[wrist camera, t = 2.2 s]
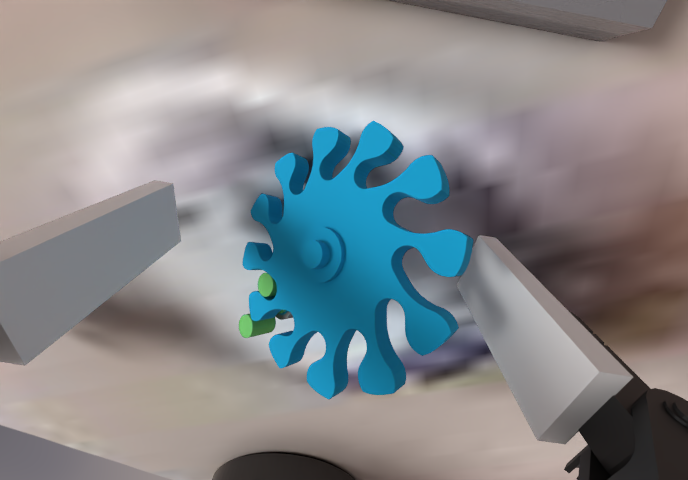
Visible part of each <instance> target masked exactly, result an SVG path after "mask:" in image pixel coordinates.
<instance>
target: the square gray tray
mask: <svg viewBox="0 0 688 480" xmlns="http://www.w3.org/2000/svg"><path fill="white" fill-rule="evenodd" d="M390 1H395V2H400V3H405V4H411V5H416V6H421V7H426V8H431V9H436V10H441V11H447V12H452V13H457V14H462V15H467V16H472V17H477V18H483V19H488V20H493V21H498V22H503V23H508V24H514V25H519V26H524V27H529V28H534V29H539V30H544V31H550V32H555V33H560V34H565V35H570V36H575V37H581V38H586V39H591V40H596V41H603V40H607V39H611V38H615V37H619V36H623V35H627V34H631V33H635V32H639V31H643V30H647V29H651V28H652V27H653V25H654V23H655V22H656V20H657V18H658V16H659V14H660V13H661V11H662V9H663V7H664V5H665V3H666V2H667V0H390Z"/></svg>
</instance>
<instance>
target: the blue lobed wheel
mask: <svg viewBox="0 0 688 480" xmlns="http://www.w3.org/2000/svg"><path fill="white" fill-rule="evenodd" d="M350 145H351V139H350V137H348V136H347V135H345V134H344V133H342V132H341V131H339V130H338V129H336V128H332V127H324V128H319V129H317V130H316V132H315V134H314V136H313V141H312V146H313V155H314V158H313V166H312V171H311V174H310V177H309V180H308V182H307V184H306V187H305V189H304V190H303V185H304V182H305V180H306V177H307V175H308V171H309V165H308V161H307V160H306V159H305V158H303V157H301V156H299V155H297V154H294V153H289V154H287V155H285V156H284V157H282V158H281V159H280V160H279V161H277V162H276V164H275V174H276V177H277V178H278V179H279V181H280V183H281V185H282V189H283V194H284V214H283V217H282V202H281V200H280V199H279V198H277V197H274V196H270V195H266V194H263V193H262V194H261V195H260V196H259V197H258V198H257V200H256V202H255V203H254V205H253V207H252V209H251V215H252V217H253V219H254V220H255V221H258V222H260V223H261V224H263V225H264V226H265V228H266V229H267V231H268V233H269V235H270V237H271V240H272V243H273V248H274V249H273V253H272V250H271V247H270V246H269V245H268V244H266V243H255V242H248V243H247V245H246V248H245V252H244V257H243V266H244V268H245V269H247V270H264V271H266V272H267V273H263V274H262V275H261V276H260V278H259V281H258V289H259V291H254V292H252V293H251V294H250V295H249V308H250V314H246V315H243V316H242V317H241V318H240V321H239V330H240V333H241V335H242V336H243V337H244V338H248V337H253V336H257V335H261V334H265V333H269V332H272V331H273V330H274V328H275V324H276V321H275V316H276V317H277V318H278V319H288V318H294V322H295V327H294V331H289V332H285V333H281V334H277V335H274V336H273V337H272V338H271V339H270V342H269V348H270V351H271V353H272V356H273V358H274V360H275V361H276V363H277V365H278V366H279V368H284V367H287V366H289V365H292V364H294V363H297V362H299V361H300V360H301V359H302V357H303V355H304V351H305V348H306V345H307V343H308V342H309V340H310V338H311V337H312V336H313V335H314V334H315V333H317V332H319V333H321V334H322V336H323V337H324V339H325V342H326V353H325V355H324V356H323V358H321V359H320V360H318V361H316V362H314V363H312V364H311V365H310V367H309V369H308V372H307V382H308V383H309V385H310V386H311V387H312V388H313V389H314V390H315V391H316V392H318V393H319V394H320V395H322V396H324V397H325V398H327V399H331V398H332V397H334V396H335V395H337V394H339V393H340V392H342V391H343V390H344V389H345V388H346V386H347V384H348V371H347V352H348V348H349V344H350V342H351V339H352V337H353V335H354V333H355V331H356V330H358V331H359V332H361V333H362V335H363V336H364V338H365V340H366V343H367V352H366V355H365V357H364V359H363V360H362V362H361V364H360V366H359V370H358V380H359V384H360V387H361V389H362V390H363V392H366V393H369V394H373V395H385V394H392V393H395V392H396V391H397V390H398V389H399V388H400V387H402V386H403V385H404V384H405V381H406V372H405V368H404V366H403V363H402V362H401V360H400V359H399V358H398V356H397V355H396V353H395V351H394V349H393V347H392V345H391V342H390V339H389V335H388V331H387V305H388V302H389V301H390V300H391V299H394V300H396V301H397V302H399V303H400V305H401V306H402V308H403V310H404V312H405V332H406V337H407V340H408V342H409V344H410V346H411V347H412V348H413V349H414V350H415V351H416V352H417V353H418V354H420V355H422V356H423V355H426V354H429V353H431V352H432V351H434V350H435V349H437V348H438V347H439V346H441V345H442V344H443V343H445V342H446V341H447V340H448V339H449V338H450V337H451V336H452V335H453V334H454V333H455V332H456V331H457V329H458V328H459V327H458V324H457V321H456V320H455V318H454V316H453V315H452V314H451V313H450V312H448V311H447V310H445V309H444V308H441V307H439V306H436V305H434V304H432V303H431V302H429V301H427V300H426V299H425V298H424V297H422V296H421V295H420V294H419V293H418V292H417V291H416V289H415V288H414V287H413V285H412V284H411V282H410V281H409V279H408V277H407V275H406V273H405V272H404V269H403V267H402V259H403V256H404V254H405V252H406V251H407V250H409V249H410V248H413V247H415V248H416V249H418V250H419V252H420V253H421V254H422V256H423V258H424V260H425V261H426V263H427V265H428V266H429V267H430V269H431V270H432V271H434V272H435V273H437V274H438V275H441V276H445V277H453V276H462V275H463V274H464V272H465V271H466V269H467V267H468V264H469V262H470V258H471V254H472V247H473V239H472V238H471V237H470V236H468V235H466V234H464V233H461V232H459V231H457V230H451V229H447V230H441V231H438V232H434V233H426V234H420V233H413V232H411V231H409V230H407V229H405V228H403V227H401V226H399V225H398V224H397V223H396V222H395V220H394V216H393V211H394V208H395V206H396V204H397V203H398V202H399V201H400V200H401V199H403V198H407V197H411V198H415V199H417V200H419V201H421V202H424V203H427V204H437V203H440V202H442V201H444V200H445V199H446V198H447V197H449V183H448V179H447V176H446V174H445V171H444V169H443V167H442V165H441V163H440V162H439V161H438V160H437V159H436V158H435V157H434V156H433V155H426V156H422V157H420V158H418V159H416V160H415V161H413V162H412V163H411V164H410V166H409V167H408V168H407V169H406V170H405V171H404V172H403V173H402V174H401V175H400V176H399V177H397V178H396V179H394V180H393V181H391V182H389V183H387V184H384V185H382V186H378V187H373V188H368V189H367V186H366V179H367V176H368V174H369V172H370V171H371V170H372V169H374V168H375V167H378V166H383V165H387V164H390V163H392V162H394V161H395V160H396V159H397V158H398V157H399V156H400V154H401V152H402V150H403V145H402V143H401V142H400V141H399V140H398V139H397V138H396V137H395V136H394V135H393V134H392V133H391V132H390V131H389V130H388V129H386V128H385V127H384V126H382V125H381V124H379V123H377V122H375V121H372V122H371V123H369V124H368V125H367V126H366V127H365V129H364V130H363V132H362V134H361V137H360V141H359V144H358V147H357V150H356V152H355V154H354V156H353V157H352V159H351V161H350V162H349V163H348V165H347V166H346V167H345V168H344V169H343V170H342V171H341V172H340V173H339V174H338V175H337V176H336V177H335V178H333V170H334V168H335V166H336V165H337V164H338V163H339V162H340V161H341V160H342V159H343V158H344V157H345V156H346V155H347V153H348V151H349V149H350Z"/></svg>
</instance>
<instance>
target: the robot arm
mask: <svg viewBox="0 0 688 480" xmlns="http://www.w3.org/2000/svg"><path fill="white" fill-rule="evenodd" d="M180 241H181V237H180V230H179V223H178V215H177V208H176V201H175V193H174V186H173V183H167V182H161V181H155V180H154V181H152V182H149V183H147V184H144V185H142V186H139V187H137V188H134V189H132V190H129V191H127V192H124V193H122V194H119V195H117V196H114V197H112V198H109V199H107V200H104V201H102V202H99V203H96V204H94V205H91V206H89V207H86V208H84V209H81V210H79V211H76V212H74V213H71V214H69V215H66V216H64V217H61V218H59V219H56V220H54V221H51V222H49V223H46V224H44V225H41V226H39V227H36V228H34V229H31V230H29V231H26V232H24V233H21V234H19V235H16V236H14V237H11V238H8V239H6V240H3V241H1V242H0V362H5V363H12V364H19V365H26V364H27V363H29V362H30V361H31V360H32V359H34V358H35V357H36V356H37V355H39V354H40V353H41V352H43V351H44V350H45V349H46V348H48V347H49V346H50V345H51V344H53V343H54V342H55V341H56V340H58V339H59V338H60V337H61V336H63V335H64V334H65V333H66V332H68V331H69V330H70V329H71V328H73V327H74V326H75V325H76V324H78V323H79V322H80V321H81V320H83V319H84V318H85V317H86V316H88V315H89V314H90V313H91V312H93V311H94V310H95V309H96V308H98V307H99V306H100V305H101V304H103V303H104V302H105V301H106V300H108V299H109V298H110V297H111V296H113V295H114V294H115V293H116V292H118V291H119V290H120V289H122V288H123V287H124V286H125V285H127V284H128V283H129V282H130V281H132V280H133V279H134V278H135V277H137V276H138V275H139V274H140V273H142V272H143V271H144V270H145V269H147V268H148V267H149V266H150V265H152V264H153V263H154V262H155V261H157V260H158V259H159V258H160V257H162V256H163V255H164V254H165V253H167V252H168V251H169V250H170V249H172V248H173V247H174V246H175V245H177V244H178V243H179V242H180ZM457 288H458V290H459V291H460V293H461V295H462V297H463V299H464V301H465V303H466V305H467V307H468V309H469V311H470V313H471V314H472V316H473V318H474V320H475V322H476V324H477V326H478V328H479V330H480V332H481V334H482V336H483V337H484V339H485V341H486V343H487V345H488V347H489V349H490V351H491V353H492V355H493V357H494V359H495V360H496V362H497V364H498V366H499V368H500V370H501V372H502V374H503V376H504V378H505V380H506V381H507V383H508V385H509V387H510V389H511V391H512V393H513V395H514V397H515V399H516V401H517V403H518V404H519V406H520V408H521V410H522V412H523V414H524V416H525V418H526V420H527V422H528V424H529V426H530V427H531V429H532V431H533V433H534V435H535V437H536V439H537V440H539V441H546V442H553V443H560V444H566V443H567V442H568V441H569V440H570V439H571V438H572V437H573V436H574V435H575V434H576V433H577V432H578V431H579V432H580V433H581V435H582V436H583V438H584V439H585V441H586V442H587V444H588V445H587V446H586V447H585V448H584V449H583V450H582V451H580V452H579V453H578V454H577V455H576V456H575V457H574V458H573V459H572V460H571V461H570V462H568V463H567V465H566V467H565V469H564V470H565V471H567V472H568V473H570V472H571V471H572V470H573V469H575V468H579V476H578V477H577V480H688V401H686V400H685V399H683V398H681V397H679V396H677V395H675V394H672V393H670V392H668V391H664V390H660V389H656V388H654V389H650V388H649V387H648V386H647V385H646V384H645V383H644V382H643V381H642V380H641V379H640V378H639V377H638V376H637V375H636V374H635V373H634V372H633V371H632V370H631V369H630V368H629V367H628V366H627V365H626V364H625V363H624V362H623V361H622V360H621V359H620V358H619V357H618V356H617V355H616V354H615V353H614V352H613V351H612V350H611V349H610V348H609V347H608V346H606V345H604V342H603V341H602V340H601V339H600V338H599V337H598V336H597V335H596V334H593V331H592V330H591V329H590V328H589V327H588V326H587V325H586V324H585V323H584V322H583V321H582V320H581V319H580V318H578V317H577V316H576V315H574V314H573V313H571V312H570V311H568V310H567V309H566V308H565V307H564V306H563V305H562V304H561V303H560V302H559V301H558V300H557V299H556V298H555V297H554V296H553V295H552V294H551V293H550V292H549V291H548V290H547V289H546V288H545V287H544V286H543V285H542V284H541V283H540V282H539V281H538V280H537V279H536V278H535V277H534V276H533V275H532V274H531V273H530V272H529V271H528V270H527V269H526V268H525V267H524V266H523V265H522V264H521V263H520V262H519V261H518V260H517V259H516V258H515V257H514V256H513V254H512V253H511V252H510V251H509V250H508V249H507V248H506V247H505V246H504V245H503V244H502V243H501V242H500V241H499V240H498V239H497V238H494V237H488V236H482V235H479V236H478V238H477V240H476V242H475V245H474V247H473V249H472V254H471V258H470V262H469V264H468V267H467V269H466V271H465V272H464V274H463V275H462V276H461V277H460V279H459V281H458V283H457ZM212 480H354V479H353V478H352V477H351V476H350V475H348V474H347V473H346V472H344V471H342V470H341V469H339V468H337V467H335V466H333V465H330V464H328V463H325V462H322V461H319V460H316V459H312V458H308V457H303V456H298V455H291V454H278V453H266V454H254V455H248V456H243V457H239V458H236V459H233V460H231V461H229V462H227V463H225V464H224V465H222V466H221V467H220V468H219V469H218V470H217V471H216V472H215V474H214V476H213V479H212Z"/></svg>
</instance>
